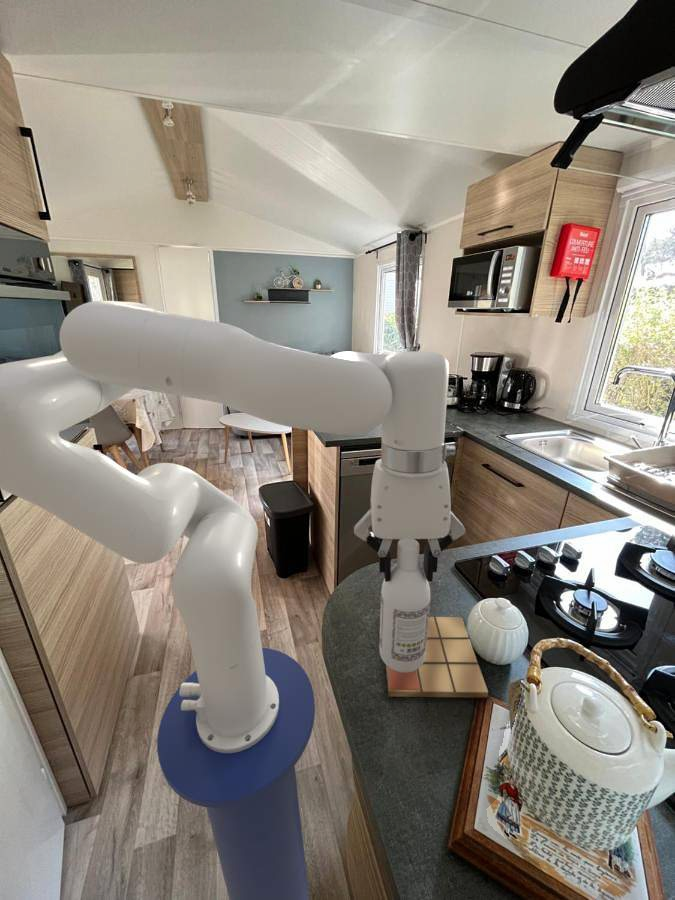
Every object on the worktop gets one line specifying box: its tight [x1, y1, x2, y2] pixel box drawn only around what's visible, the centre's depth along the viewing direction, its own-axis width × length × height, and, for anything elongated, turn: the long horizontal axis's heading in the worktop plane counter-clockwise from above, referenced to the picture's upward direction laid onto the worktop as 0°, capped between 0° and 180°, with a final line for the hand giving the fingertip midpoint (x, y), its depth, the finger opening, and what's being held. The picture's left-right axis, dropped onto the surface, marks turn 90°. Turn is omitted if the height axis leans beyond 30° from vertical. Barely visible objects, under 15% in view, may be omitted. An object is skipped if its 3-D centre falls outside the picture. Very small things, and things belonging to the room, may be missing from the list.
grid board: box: [385, 616, 489, 699], centre depth 65 cm, size 15×15×1 cm
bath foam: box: [378, 539, 432, 673], centre depth 55 cm, size 7×7×20 cm
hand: (407, 573), depth 53 cm, fingers closed on bath foam, 5 cm apart
